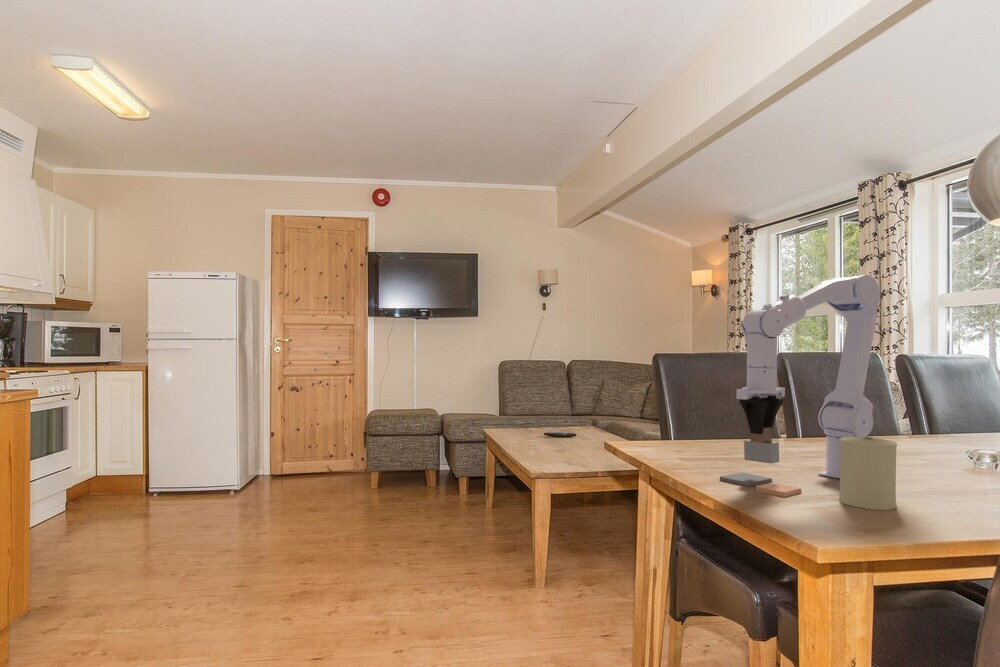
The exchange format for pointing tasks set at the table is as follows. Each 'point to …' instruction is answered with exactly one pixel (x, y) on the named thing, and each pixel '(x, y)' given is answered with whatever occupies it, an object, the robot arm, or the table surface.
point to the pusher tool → (761, 447)
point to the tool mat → (745, 479)
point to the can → (868, 473)
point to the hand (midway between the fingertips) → (760, 432)
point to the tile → (778, 489)
